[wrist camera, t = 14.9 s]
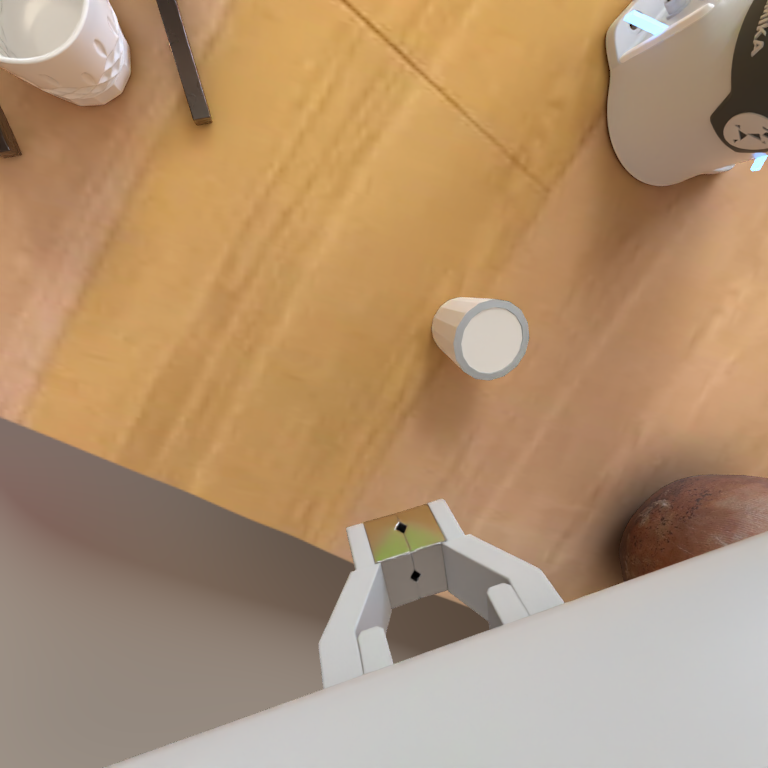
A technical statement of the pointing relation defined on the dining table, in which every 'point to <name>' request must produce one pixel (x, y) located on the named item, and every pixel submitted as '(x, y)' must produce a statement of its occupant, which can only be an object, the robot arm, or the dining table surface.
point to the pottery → (693, 521)
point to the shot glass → (481, 335)
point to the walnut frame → (4, 142)
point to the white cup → (65, 48)
